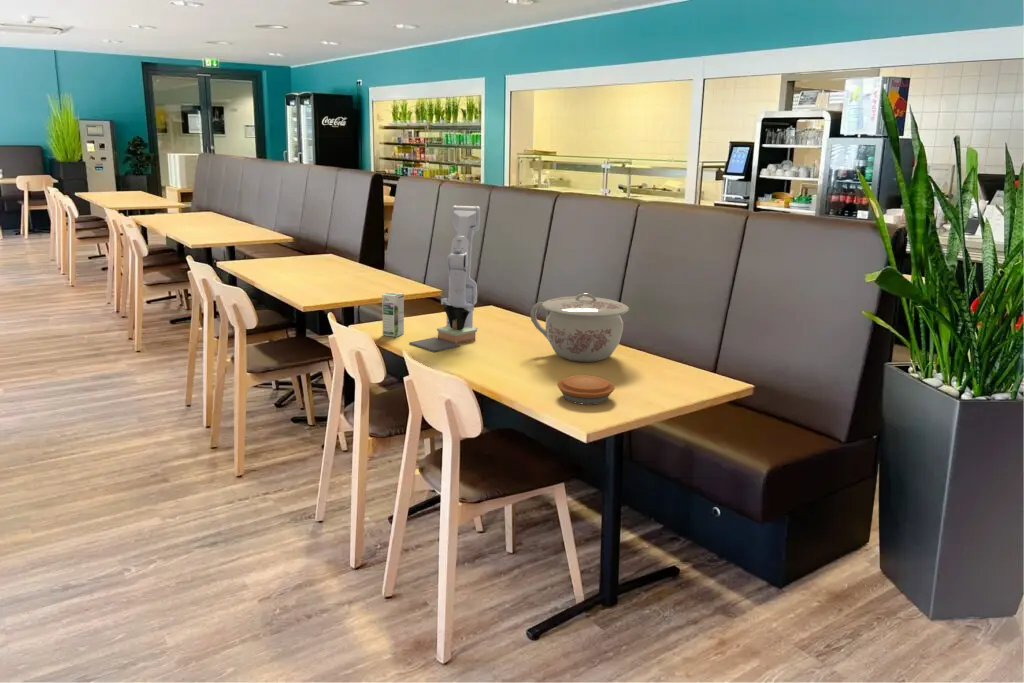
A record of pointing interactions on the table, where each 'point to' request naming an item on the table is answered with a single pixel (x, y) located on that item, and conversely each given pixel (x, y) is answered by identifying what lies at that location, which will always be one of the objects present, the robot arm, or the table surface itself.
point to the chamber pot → (582, 326)
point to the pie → (585, 389)
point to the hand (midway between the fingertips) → (456, 328)
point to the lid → (454, 330)
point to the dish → (457, 337)
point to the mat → (434, 344)
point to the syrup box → (393, 314)
